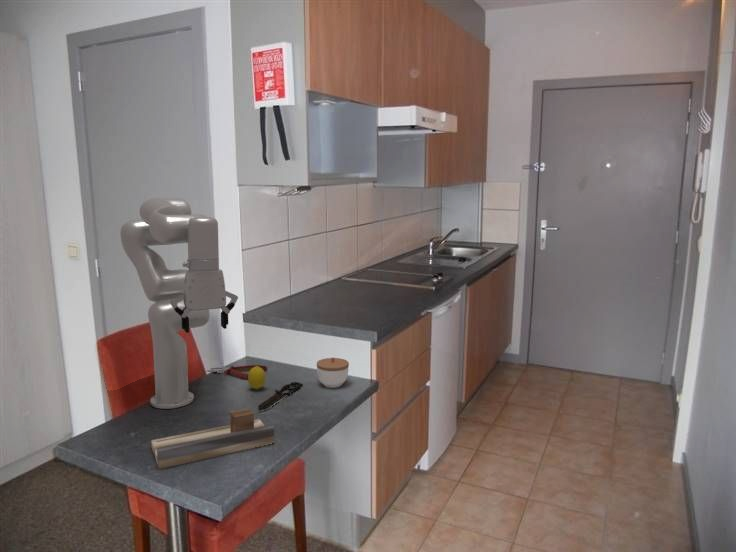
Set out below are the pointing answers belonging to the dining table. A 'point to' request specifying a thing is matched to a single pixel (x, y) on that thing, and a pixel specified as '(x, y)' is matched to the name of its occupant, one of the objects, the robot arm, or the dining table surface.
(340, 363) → the lidded jar
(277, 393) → the knife
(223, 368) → the pliers
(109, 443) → the dining table surface
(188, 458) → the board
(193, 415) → the dining table surface
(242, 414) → the brown block with peg
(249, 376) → the lemon
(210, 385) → the dining table surface
